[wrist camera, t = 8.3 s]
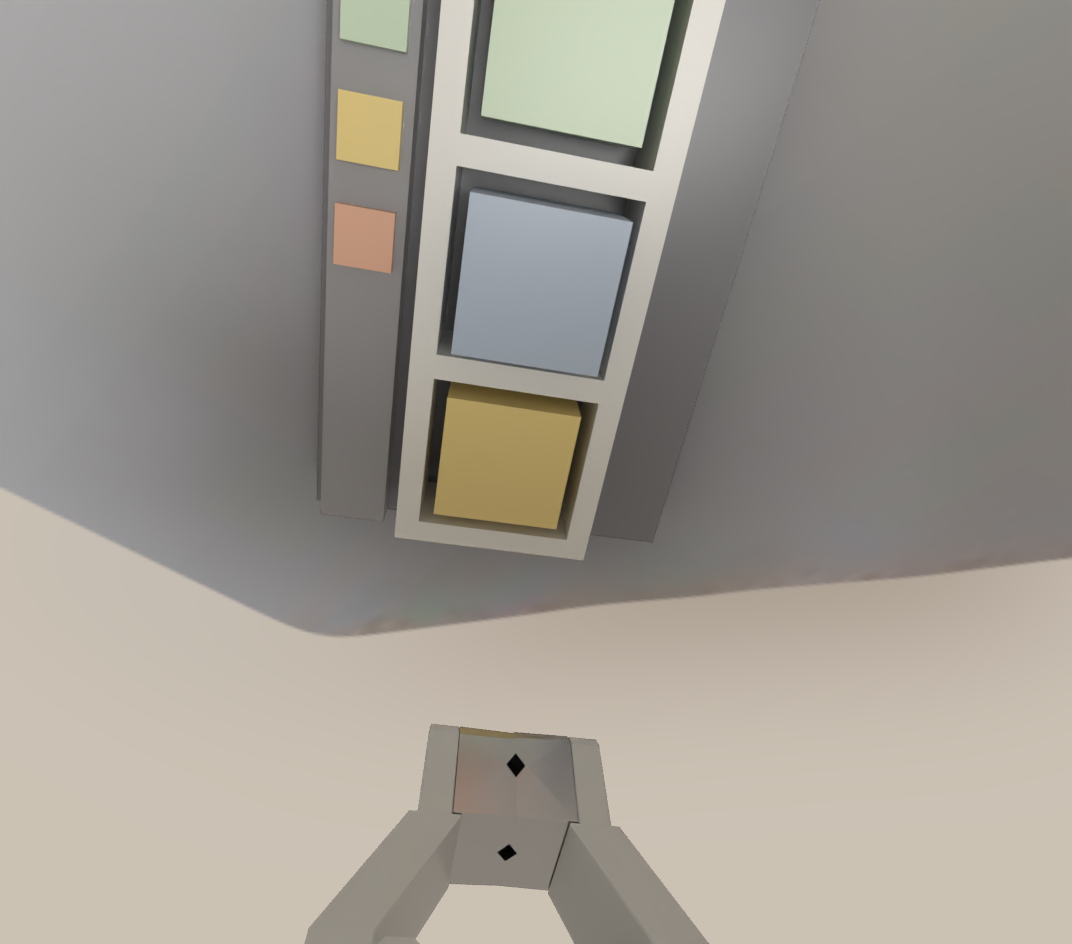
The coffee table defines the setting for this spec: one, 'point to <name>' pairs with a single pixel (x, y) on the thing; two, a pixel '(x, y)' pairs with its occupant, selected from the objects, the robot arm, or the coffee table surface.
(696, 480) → the coffee table surface
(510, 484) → the key ochre
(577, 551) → the coloured button panel
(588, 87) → the key sage
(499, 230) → the key slate
